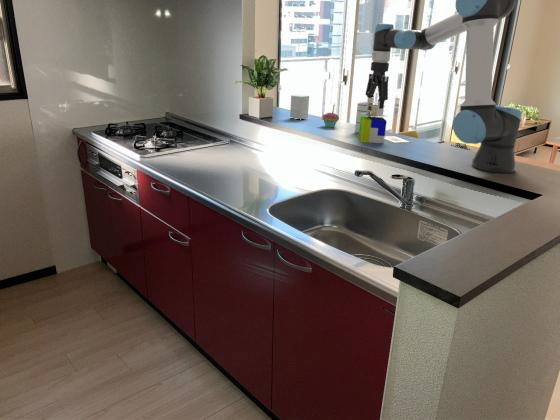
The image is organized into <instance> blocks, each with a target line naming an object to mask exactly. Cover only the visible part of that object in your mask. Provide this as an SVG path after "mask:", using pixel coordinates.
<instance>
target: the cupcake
mask: <svg viewBox="0 0 560 420" xmlns="http://www.w3.org/2000/svg"><path fill="white" fill-rule="evenodd" d="M335 103H336V102H334V104H333V107H332V112H327V113H325V114H323V115H322V116H321V117H322V119H321V120H323V122H324V127H325V128H329V127H334V128H335V126H336V124H337V123H338V121H340V120H339V119H340V116H339V115H338V114H336V113H334V111H335V106H336V104H335Z"/></svg>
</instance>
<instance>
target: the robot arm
mask: <svg viewBox="0 0 560 420" xmlns="http://www.w3.org/2000/svg"><path fill="white" fill-rule="evenodd" d="M516 2H517V0H455V10H456V12H457V13H454V14H452V15H450V16H449V17H446V18H444V19H442V20H440V21H438V22H436V23H434V24H432V25H430V26H428V27H426V28H424V29H420V30H418V29H417V30H416V29H407V28H394V24H393V23H382V22H381V23H377V24H376V25H375V30H374V37H373V46H372V47H373V48H372V54H371V56H372V57H371V60H372V62H370V63H371V64H370V71H372V73H369V74H368V81H367V85H366V90H365V96H366V98H367V99H366V100H367V101H366V102H367V105H369V103H370V102H375V101H374V100H375V96H374V94H375V92H376V90H377V91H378V92H377V93H378V99H377V102H378V103H376V105H377V113H376V116H375V117H384V116H383V115H384V110H383V108H385V107H384V106H385V102H386V101H388V99H389V92H388V91H389V80H390V79H389V78H390V76H386V72H389V66H390V63H389V62H390V59H391V58H390V57H391V52H392V51H391V49H397V50H398V49H400V50H418V51H419V50H421V51H427V50H432V49H434V48H435V46H436V45H437V44H440V43H441V42H443V41H446V40H448V39H451V38H453V37H456V36H457V35H461V34H463V33H465V32H466V45H465V46H466V48H465V51H466V52H465V81H464V82H465V88H464V89H465V90H464V94H465V95H464V101H463V102H462V103H461V104H460V106H459V107H460V108H459V110H460V111H459V112H458V113H457V114H456V116H455V117H454V118H453V123H452V128H453V132H454V135H455V137H456V138H458V140H460V142H462V143H465V144H473V145H477V144H480V146H479V148H478V149H477V152H476V153H475V156H474V157H473V158H472V161H471V167H474V168H475V169H478V170H481V171H485V172H490V173H499V174H509V173H510V174H511V173H513V172H515V169H516V162H515V161H516V160H515V159H516V158H515V147H516V142H517V137H518V133H519V129H520V124H521V121H522V111H521V109H518V108H514V107H506V106H502V105H497V104H496V102H495V101H494V100H493V98H492V89H493V88H492V87H493V86H492V85H493V61H494V59H493V58H494V36H495V35H494V33H495V32H494V31H495V26H496V25H497V24H498V23H499V22H500V20H503V19H504V18H506V17H507V16H509V15H510V14H511V12H513V10H514V8H515V6H516ZM372 105H374V103H372ZM367 109H368V106H367ZM367 109H366V112H371V111H368V110H367Z"/></svg>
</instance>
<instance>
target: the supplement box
mask: <svg viewBox="0 0 560 420" xmlns="http://www.w3.org/2000/svg"><path fill="white" fill-rule="evenodd" d="M290 97H291V98H290V110H289V113H290V114H289V118H290V117H293V118H297V119H300V120H299V121H302V120H301V119H306V118H308V119H309V107H310V106H309V105H310V95H306V94H305V95H304V94H292V95H290ZM306 120H307V119H306Z"/></svg>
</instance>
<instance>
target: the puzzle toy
mask: <svg viewBox="0 0 560 420" xmlns="http://www.w3.org/2000/svg"><path fill="white" fill-rule="evenodd" d="M387 122H388V121H387V120H386V119H385V118H384V116H370V117H368V116H361V120H360V129H359V133H358V139H359V140H360V142H361V143H374V144H384V143H385V139H384V138H385V136H386V129H387Z"/></svg>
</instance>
